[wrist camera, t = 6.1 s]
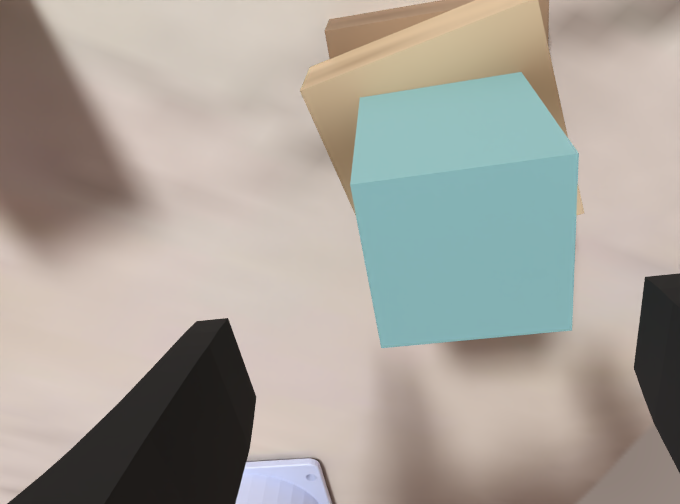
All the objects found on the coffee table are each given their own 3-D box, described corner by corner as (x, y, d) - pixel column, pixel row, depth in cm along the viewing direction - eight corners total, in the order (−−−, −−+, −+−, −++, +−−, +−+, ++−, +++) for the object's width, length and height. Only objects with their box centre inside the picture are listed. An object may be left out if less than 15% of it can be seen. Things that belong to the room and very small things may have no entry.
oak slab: (563, 178, 18) (584, 213, 16) (381, 235, 20) (381, 272, 18) (519, -18, 15) (537, -3, 13) (309, 67, 17) (299, 90, 15)
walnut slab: (531, 166, 20) (545, 195, 18) (360, 187, 21) (358, 217, 19) (531, -20, 17) (549, -7, 15) (331, 14, 18) (324, 30, 16)
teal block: (523, 213, 16) (571, 330, 12) (381, 231, 17) (381, 348, 13) (521, 71, 14) (578, 153, 10) (360, 97, 15) (350, 184, 11)
